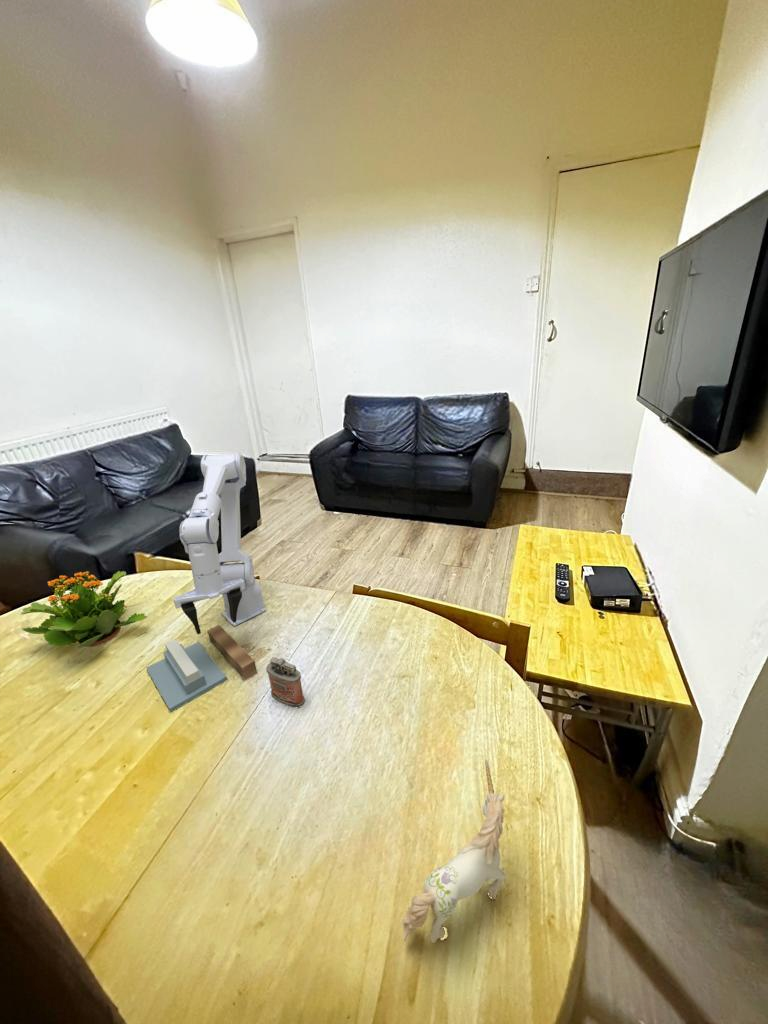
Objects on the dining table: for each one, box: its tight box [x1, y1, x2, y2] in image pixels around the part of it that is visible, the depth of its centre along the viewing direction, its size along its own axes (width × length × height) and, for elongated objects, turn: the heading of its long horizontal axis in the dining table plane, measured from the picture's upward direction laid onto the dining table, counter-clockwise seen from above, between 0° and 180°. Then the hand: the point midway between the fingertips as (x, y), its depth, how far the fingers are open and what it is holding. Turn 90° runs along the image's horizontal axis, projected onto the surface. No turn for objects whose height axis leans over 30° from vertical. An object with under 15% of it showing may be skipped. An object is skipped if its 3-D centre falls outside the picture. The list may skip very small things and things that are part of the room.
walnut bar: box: [206, 624, 258, 681], centre depth 97 cm, size 18×3×4 cm, turn 45°
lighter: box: [265, 656, 306, 708], centre depth 84 cm, size 8×3×10 cm, turn 62°
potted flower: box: [20, 570, 148, 649], centre depth 103 cm, size 25×24×18 cm
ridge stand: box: [145, 638, 228, 713], centre depth 92 cm, size 16×12×6 cm
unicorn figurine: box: [401, 758, 506, 944], centre depth 53 cm, size 7×20×13 cm, turn 137°
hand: (216, 626), depth 93 cm, fingers open, 7 cm apart
